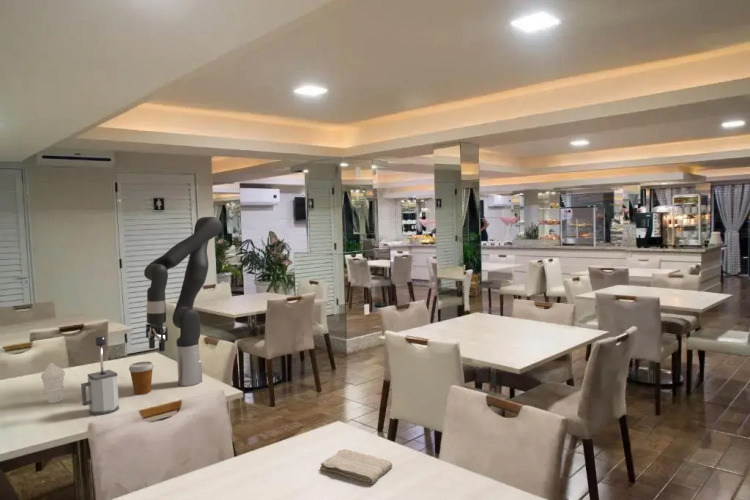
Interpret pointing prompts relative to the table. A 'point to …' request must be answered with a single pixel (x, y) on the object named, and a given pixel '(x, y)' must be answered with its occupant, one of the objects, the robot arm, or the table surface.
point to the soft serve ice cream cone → (53, 382)
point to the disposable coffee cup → (141, 377)
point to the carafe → (101, 393)
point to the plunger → (99, 342)
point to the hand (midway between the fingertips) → (156, 349)
